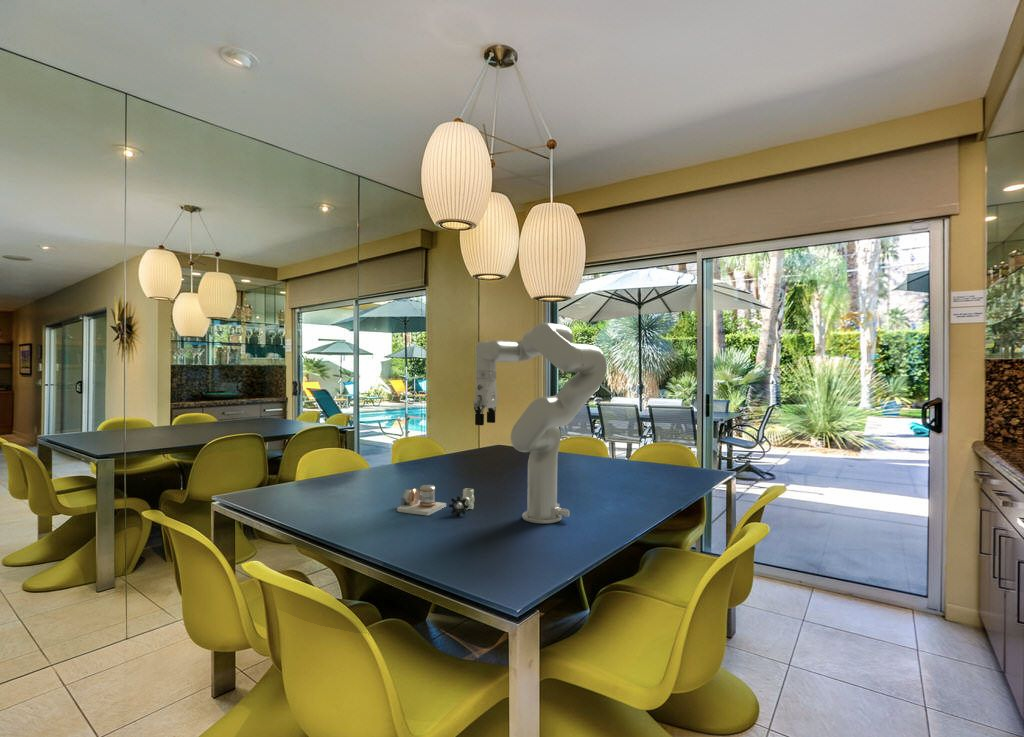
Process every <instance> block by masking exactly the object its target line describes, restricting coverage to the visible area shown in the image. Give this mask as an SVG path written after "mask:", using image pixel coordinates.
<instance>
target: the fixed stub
mask: <svg viewBox="0 0 1024 737" xmlns="http://www.w3.org/2000/svg"><path fill="white" fill-rule="evenodd" d="M400 500H401V504H400V506H405V505H407V504H410V506H413V505H415V504H417V503H418V502H419V500H420V489H418V488H412V489H405V490H404V491H403V492H402V496H401V499H400Z"/></svg>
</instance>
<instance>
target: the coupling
mask: <svg viewBox="0 0 1024 737" xmlns="http://www.w3.org/2000/svg"><path fill="white" fill-rule="evenodd" d="M419 493H420V498H419V500H420V506H421V507H433V506H435V502H436V501H435V500H436V499H435V498H436V496H435V495H436V485H434V484H424V485H420V487H419Z"/></svg>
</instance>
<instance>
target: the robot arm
mask: <svg viewBox="0 0 1024 737" xmlns="http://www.w3.org/2000/svg"><path fill="white" fill-rule="evenodd" d="M573 341H574V334H573V331H572V330H571V328H569V327H568V326H566V325H564V324H561V323H554V322H553V323H552V322H546V321H545V322H540V323H538V324H536V325H535V326H533V328H532V330H530V331H529V330H528V331H527V332H525V333H524V335H523V337H522V339H521V340H515V341H513V340H500V339H499V340H498V339H496V340H490V341H479V342H477V343H476V344H475V372H474V373H475V375H474V376H475V391H474V400H473V410H474V414H475V415H474V424H475V425H474V426H484V425H485V413H484V412H485V408H486V410H487V411H486V422H487V424H489V423H490V424H495V423H496V412H497V409H496V408H497V406H498V386H497V363H518V362H523V361H529V360H533V359H534V358H535V357H538V356H539V357H540V356H543V357H544V358H545V359H546V360H547V361H548V362H550V363H551V364H552V365H553V367H555V368H557V369H558V370H560V371H562V372H565V373H567V372H568V373H575V375H574V376H572V377H571V378H570V379H569V380H567V381H566V382H565V383H564V384H563V386H562V388H561V389H560V390H559V391H558V392H557V393H556V394H555V395H551V396H541V397H538V398H536V399H534V400H533V401H532V402H530V403H529V405H528V407H527V408H526V409H525V410H524V412H523V413H522V414H521V415H520V417H519V418H518V419H517V421H516V422H515V424H514V425H513V427H512V430H511V433H510V443H511V445H512V447H513V448H514V449H515V450H517V451H518V452H521V453H529V456H528V460H527V461H528V462H527V498H526V500H527V507H526V508H527V509H526V511H524V512H523V513H522V516H521V517H522V518H521V519H523V520H524V521H526V522H529V523H531V524H554V523H558V522H560V521H561V520H562V518H563V517H567V518H569V517H570V510H569V509H568V508H562V507H560V504H561V503H558V462H559V460H558V459H559V458H558V457H559V450H560V444H561V437H562V436H561V435H562V434H561V433H562V432H561V430H560V429H561V428H560V427H565V426H568V425H569V424H570V423H571V422H572V421H573V420H574V418H575V417H576V416H577V415H578V413H579V412H580V411H581V409H582V408H583V407H584V406H585V405H586V404H587V403H588V401H589V400H590V398H591V397H592V396H593V395H594V394H595V393H596V391H597V390H598V389H599V388H600V386H601V385H602V383H603V382H604V380H605V378H606V374H607V367H608V366H607V365H608V364H607V359H606V356H605V354H604V352H603V351H602V350H601V349H600V348H599V347H597V346H595V345H592V344H588V343H587V344H586V343H575V342H573Z"/></svg>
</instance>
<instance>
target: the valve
mask: <svg viewBox="0 0 1024 737" xmlns="http://www.w3.org/2000/svg"><path fill="white" fill-rule="evenodd" d="M474 492H475V489H474V488H463V489H462V496H461V495H458V496H456V497H452V498H451V502H452V503H449V504H448V507H449V508H452V510H451V511H450V513H451V514H452V515H453V514H455V513H456V517H460V516H461V515H466V514H467V511H468V509H472V510H473V509H474V508H475V504H474V503H475V495H474ZM455 504H456V508H455ZM457 509H458V510H457ZM465 509H466V510H465Z"/></svg>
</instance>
